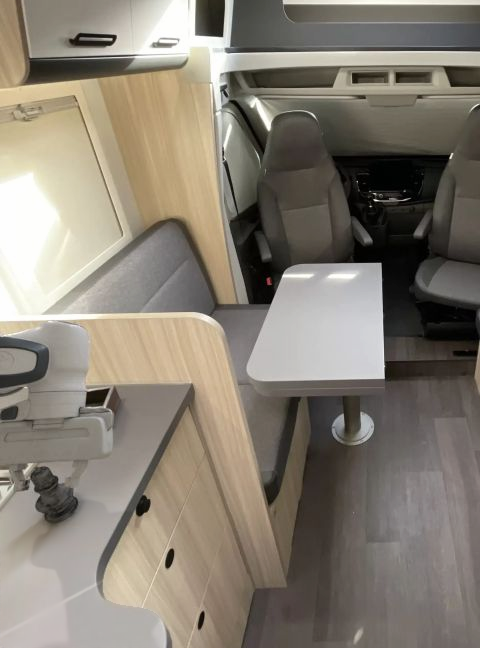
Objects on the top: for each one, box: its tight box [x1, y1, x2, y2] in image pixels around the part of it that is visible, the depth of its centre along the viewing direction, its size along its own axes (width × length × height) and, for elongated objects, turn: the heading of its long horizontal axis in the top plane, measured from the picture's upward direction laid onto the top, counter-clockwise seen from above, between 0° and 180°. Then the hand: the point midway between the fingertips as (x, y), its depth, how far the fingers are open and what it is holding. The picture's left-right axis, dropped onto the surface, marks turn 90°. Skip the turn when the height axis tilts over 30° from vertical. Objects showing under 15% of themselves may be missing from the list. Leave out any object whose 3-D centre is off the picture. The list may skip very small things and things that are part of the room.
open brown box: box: [85, 384, 122, 418], centre depth 100 cm, size 9×9×5 cm
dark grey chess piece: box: [29, 465, 79, 524], centre depth 79 cm, size 6×6×12 cm
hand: (46, 489), depth 78 cm, fingers open, 7 cm apart
